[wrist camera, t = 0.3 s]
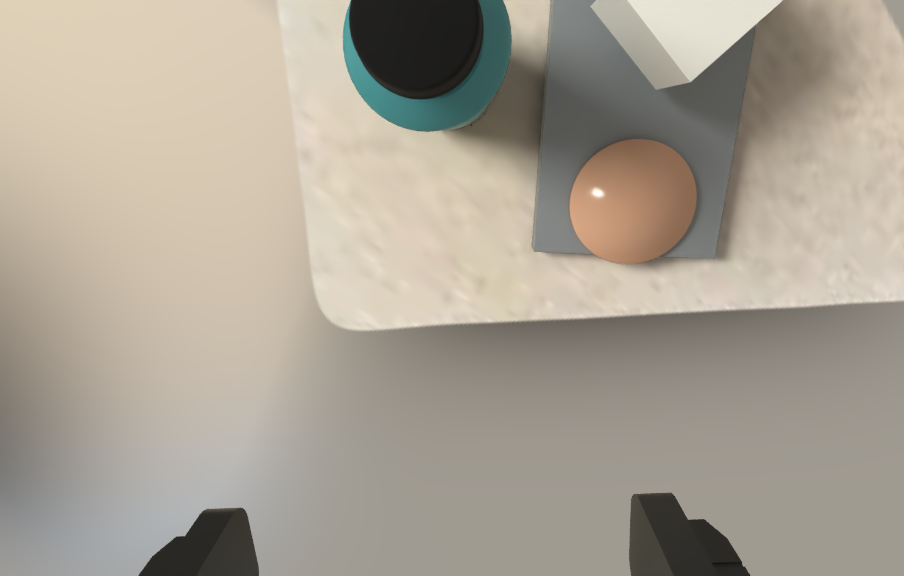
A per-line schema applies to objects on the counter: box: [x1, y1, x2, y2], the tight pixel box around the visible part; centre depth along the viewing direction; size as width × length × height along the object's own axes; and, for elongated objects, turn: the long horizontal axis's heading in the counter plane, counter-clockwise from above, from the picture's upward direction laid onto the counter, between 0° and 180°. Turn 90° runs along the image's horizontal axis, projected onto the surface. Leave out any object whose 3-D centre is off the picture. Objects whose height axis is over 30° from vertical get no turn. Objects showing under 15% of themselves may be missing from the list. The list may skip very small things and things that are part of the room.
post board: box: [532, 0, 756, 259], centre depth 31 cm, size 19×12×8 cm, turn 178°
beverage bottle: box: [343, 0, 512, 132], centre depth 25 cm, size 6×7×20 cm
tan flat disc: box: [569, 139, 697, 264], centre depth 34 cm, size 8×8×1 cm
